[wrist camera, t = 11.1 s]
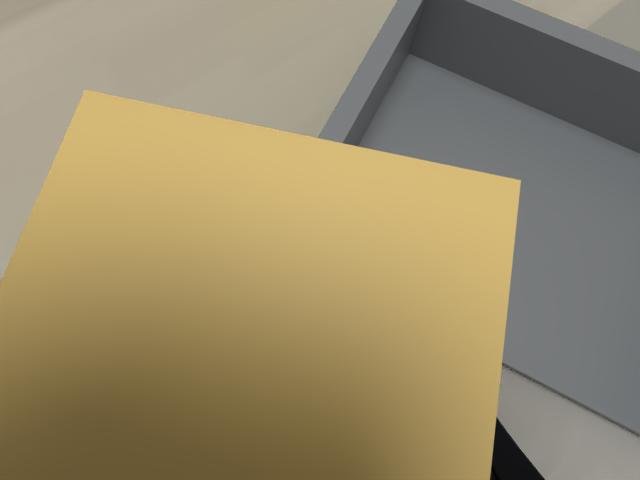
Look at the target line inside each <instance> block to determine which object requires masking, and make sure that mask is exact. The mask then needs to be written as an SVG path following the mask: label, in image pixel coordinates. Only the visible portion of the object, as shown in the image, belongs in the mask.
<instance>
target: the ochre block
mask: <svg viewBox="0 0 640 480" xmlns="http://www.w3.org/2000/svg"><path fill="white" fill-rule="evenodd" d="M520 185H521V180H517V179H512V178H508V177H503V176H498V175H493V174H488V173H483V172H479V171H474V170H469V169H464V168H459V167H455V166H450V165H445V164H440V163H435V162H430V161H426V160H421V159H416V158H411V157H406V156H402V155H397V154H392V153H387V152H382V151H377V150H373V149H368V148H363V147H358V146H353V145H349V144H344V143H339V142H334V141H329V140H324V139H320V138H315V137H310V136H305V135H300V134H296V133H291V132H286V131H281V130H276V129H271V128H267V127H262V126H257V125H252V124H247V123H243V122H238V121H233V120H228V119H223V118H218V117H214V116H209V115H204V114H199V113H194V112H189V111H185V110H180V109H175V108H170V107H165V106H161V105H156V104H151V103H146V102H141V101H136V100H132V99H127V98H122V97H117V96H112V95H108V94H103V93H98V92H93V91H88V90H85V91H84V93H83V96H82V98H81V100H80V103H79V105H78V107H77V109H76V112H75V114H74V116H73V118H72V121H71V123H70V125H69V128H68V130H67V132H66V134H65V137H64V139H63V141H62V143H61V146H60V148H59V150H58V153H57V155H56V157H55V159H54V162H53V164H52V166H51V169H50V171H49V173H48V175H47V178H46V180H45V182H44V184H43V187H42V189H41V191H40V194H39V196H38V198H37V200H36V203H35V205H34V207H33V209H32V212H31V214H30V216H29V219H28V221H27V223H26V225H25V228H24V230H23V232H22V234H21V237H20V239H19V241H18V244H17V246H16V248H15V250H14V253H13V255H12V257H11V260H10V262H9V264H8V266H7V269H6V271H5V273H4V275H3V278H2V280H1V282H0V480H490V474H491V465H492V455H493V445H494V436H495V426H496V416H497V407H498V397H499V387H500V378H501V368H502V359H503V349H504V339H505V330H506V320H507V310H508V301H509V291H510V281H511V272H512V262H513V252H514V243H515V233H516V224H517V214H518V204H519V195H520Z"/></svg>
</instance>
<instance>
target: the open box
mask: <svg viewBox="0 0 640 480" xmlns="http://www.w3.org/2000/svg"><path fill="white" fill-rule="evenodd" d="M318 138H320V139H324V140H329V141H334V142H339V143H344V144H349V145H353V146H358V147H363V148H368V149H373V150H377V151H382V152H387V153H392V154H397V155H402V156H406V157H411V158H416V159H421V160H426V161H430V162H435V163H440V164H445V165H450V166H455V167H459V168H464V169H469V170H474V171H479V172H483V173H488V174H493V175H498V176H503V177H508V178H512V179H517V180H521V185H520V195H519V204H518V214H517V224H516V233H515V243H514V252H513V262H512V272H511V281H510V291H509V301H508V310H507V320H506V330H505V339H504V349H503V359H502V365H504V366H506V367H508V368H509V369H511V370H513V371H515V372H517V373H519V374H521V375H523V376H525V377H527V378H529V379H531V380H533V381H534V382H536V383H538V384H540V385H542V386H544V387H546V388H548V389H550V390H552V391H554V392H556V393H558V394H559V395H561V396H563V397H565V398H567V399H569V400H571V401H573V402H575V403H577V404H579V405H581V406H582V407H584V408H586V409H588V410H590V411H592V412H594V413H596V414H598V415H600V416H602V417H604V418H606V419H607V420H609V421H611V422H613V423H615V424H617V425H619V426H621V427H623V428H625V429H627V430H629V431H630V432H632V433H634V434H636V435H638V436H640V52H639V51H636V50H634V49H631V48H629V47H626V46H624V45H621V44H619V43H616V42H614V41H611V40H609V39H606V38H604V37H601V36H599V35H596V34H594V33H591V32H589V31H587V30H584V29H582V28H579V27H577V26H574V25H572V24H569V23H567V22H564V21H562V20H559V19H557V18H554V17H552V16H549V15H547V14H544V13H542V12H539V11H537V10H534V9H532V8H529V7H527V6H524V5H522V4H520V3H517V2H515V1H512V0H398V1H397V2H396V4H395V6H394V8H393V9H392V11H391V13H390V15H389V16H388V18H387V20H386V21H385V23H384V25H383V27H382V28H381V30H380V32H379V33H378V35H377V37H376V39H375V40H374V42H373V44H372V46H371V47H370V49H369V51H368V52H367V54H366V56H365V58H364V59H363V61H362V63H361V64H360V66H359V68H358V70H357V71H356V73H355V75H354V76H353V78H352V80H351V82H350V83H349V85H348V87H347V89H346V90H345V92H344V94H343V95H342V97H341V99H340V101H339V102H338V104H337V106H336V107H335V109H334V111H333V113H332V114H331V116H330V118H329V120H328V121H327V123H326V125H325V126H324V128H323V130H322V132H321V133H320V135H319V137H318Z"/></svg>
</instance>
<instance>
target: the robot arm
mask: <svg viewBox="0 0 640 480" xmlns="http://www.w3.org/2000/svg"><path fill="white" fill-rule="evenodd" d="M490 480H545V479H544V478H543V477H542V475H541V474H540V473H539V472H538V470H537V469H536V468H535V467H534V466H533V464H532V463H531V462H530V461H529V459H528V458H527V457H526V456H525V454H524V453H523V452H522V451H521V449H520V448H519V447H518V446H517V444H516V443H515V442H514V440H513V439H512V438H511V436H510V435H509V433H508V432H507V431H506V429H505V428H504V427H503V425H502V424H501V423H500V421H499V420H498V418H497V417H496V426H495V436H494V445H493V455H492V465H491V474H490Z"/></svg>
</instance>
